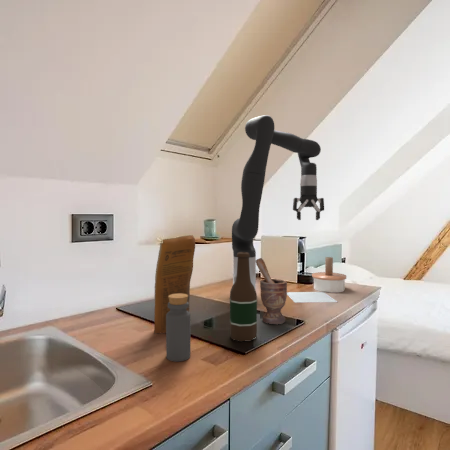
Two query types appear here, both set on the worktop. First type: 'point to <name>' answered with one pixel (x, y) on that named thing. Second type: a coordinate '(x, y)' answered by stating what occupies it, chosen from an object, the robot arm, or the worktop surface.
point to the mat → (310, 297)
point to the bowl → (329, 285)
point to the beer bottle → (243, 302)
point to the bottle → (178, 328)
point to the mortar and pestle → (272, 295)
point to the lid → (329, 272)
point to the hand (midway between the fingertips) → (308, 220)
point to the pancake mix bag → (172, 275)
